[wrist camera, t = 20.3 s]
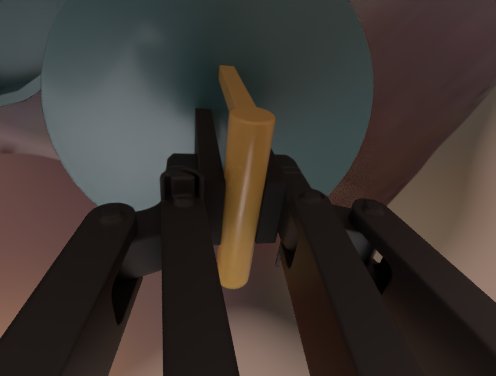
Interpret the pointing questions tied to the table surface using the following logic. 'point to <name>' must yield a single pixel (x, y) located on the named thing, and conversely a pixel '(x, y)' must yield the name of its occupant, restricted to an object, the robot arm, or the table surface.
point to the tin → (23, 46)
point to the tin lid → (206, 98)
